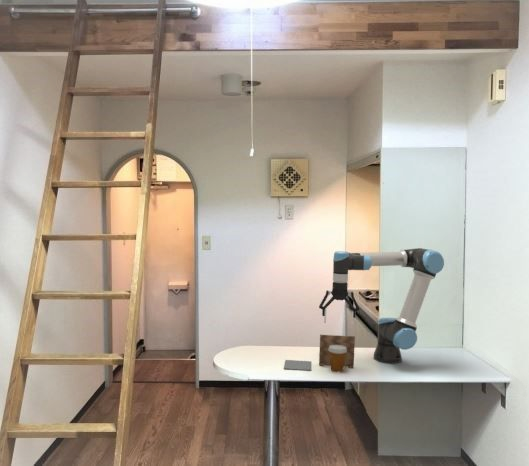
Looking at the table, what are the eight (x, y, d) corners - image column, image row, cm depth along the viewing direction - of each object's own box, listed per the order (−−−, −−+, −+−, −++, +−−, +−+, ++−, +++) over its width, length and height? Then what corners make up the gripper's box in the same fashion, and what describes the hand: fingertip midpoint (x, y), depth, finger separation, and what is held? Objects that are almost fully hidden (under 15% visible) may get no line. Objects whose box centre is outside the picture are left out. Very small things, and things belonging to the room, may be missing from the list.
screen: (353, 365, 258) (354, 335, 257) (353, 368, 253) (355, 337, 252) (318, 363, 260) (320, 333, 259) (319, 366, 255) (320, 336, 254)
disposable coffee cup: (345, 374, 244) (346, 350, 243) (326, 372, 246) (327, 348, 245) (346, 368, 253) (347, 345, 252) (328, 366, 255) (329, 343, 254)
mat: (311, 362, 260) (311, 361, 260) (311, 371, 247) (311, 369, 246) (285, 360, 262) (285, 359, 262) (283, 369, 248) (283, 368, 248)
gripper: (364, 281, 250) (362, 322, 251) (315, 279, 252) (313, 320, 253) (365, 284, 242) (364, 326, 243) (315, 281, 245) (313, 323, 246)
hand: (338, 323), depth 248 cm, fingers open, 13 cm apart
